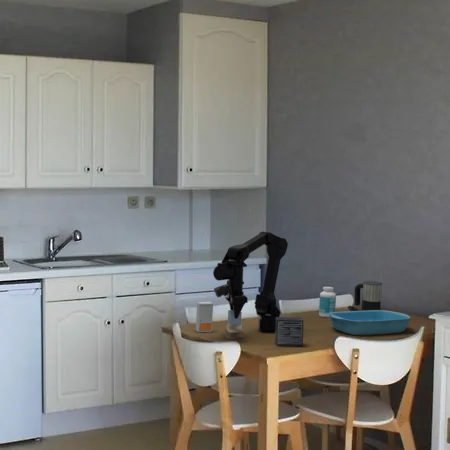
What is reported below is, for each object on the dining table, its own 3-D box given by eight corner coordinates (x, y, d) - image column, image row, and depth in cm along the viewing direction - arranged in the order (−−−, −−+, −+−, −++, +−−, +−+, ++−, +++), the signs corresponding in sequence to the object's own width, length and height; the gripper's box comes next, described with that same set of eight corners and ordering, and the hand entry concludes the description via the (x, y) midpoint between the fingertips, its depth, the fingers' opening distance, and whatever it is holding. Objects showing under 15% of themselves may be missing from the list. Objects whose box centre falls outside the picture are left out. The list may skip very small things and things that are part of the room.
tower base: (237, 336, 361) (237, 329, 360) (242, 339, 355) (243, 332, 355) (225, 337, 358) (225, 330, 358) (230, 340, 353) (230, 332, 353)
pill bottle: (331, 318, 405) (333, 289, 404) (316, 316, 408) (317, 287, 407) (337, 316, 412) (338, 287, 410) (322, 314, 415) (323, 285, 414)
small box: (301, 343, 351) (302, 316, 350) (303, 346, 344) (304, 320, 343) (274, 342, 350) (275, 316, 350) (275, 346, 344) (277, 319, 343)
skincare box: (198, 332, 364) (199, 303, 363) (195, 330, 368) (196, 301, 367) (212, 332, 366) (213, 303, 365) (209, 330, 370) (210, 301, 369)
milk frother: (383, 312, 425) (384, 281, 424) (375, 318, 410) (376, 286, 409) (354, 309, 430) (355, 279, 429) (345, 314, 416) (346, 283, 415)
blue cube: (238, 322, 360) (239, 310, 359) (241, 324, 355) (241, 312, 355) (227, 322, 359) (228, 310, 358) (230, 324, 354) (230, 312, 354)
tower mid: (239, 329, 360) (239, 322, 360) (241, 332, 355) (242, 325, 355) (226, 329, 359) (227, 322, 359) (229, 332, 354) (229, 324, 354)
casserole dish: (388, 323, 399) (388, 307, 399) (420, 333, 379) (420, 316, 379) (318, 328, 383) (319, 311, 382) (347, 339, 363) (348, 321, 362)
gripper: (211, 275, 363) (210, 312, 364) (220, 282, 345) (219, 321, 346) (238, 275, 365) (237, 312, 366) (248, 282, 347) (247, 321, 348)
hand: (234, 317), depth 357 cm, fingers open, 6 cm apart
